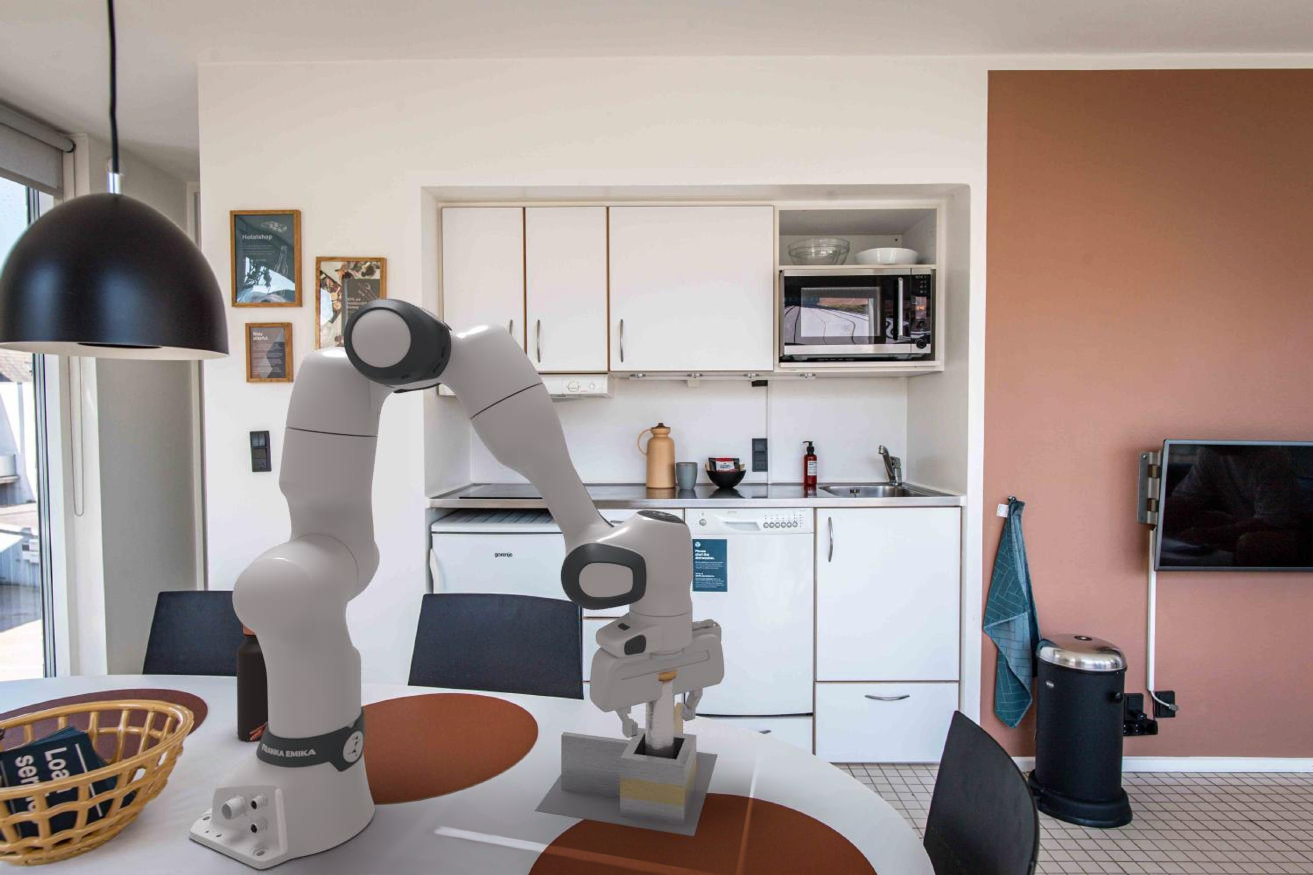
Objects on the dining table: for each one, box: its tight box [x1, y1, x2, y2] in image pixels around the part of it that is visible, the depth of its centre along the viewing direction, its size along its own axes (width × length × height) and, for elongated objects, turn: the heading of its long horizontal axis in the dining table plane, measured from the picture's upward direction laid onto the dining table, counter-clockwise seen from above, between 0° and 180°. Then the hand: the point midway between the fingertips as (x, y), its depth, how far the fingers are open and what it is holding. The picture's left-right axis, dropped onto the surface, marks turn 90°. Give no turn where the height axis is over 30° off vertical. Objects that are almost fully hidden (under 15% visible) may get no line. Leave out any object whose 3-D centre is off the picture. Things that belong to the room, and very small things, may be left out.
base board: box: [534, 751, 718, 837], centre depth 96 cm, size 22×21×1 cm
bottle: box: [236, 623, 268, 742], centre depth 112 cm, size 7×7×20 cm
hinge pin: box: [644, 670, 676, 759], centre depth 90 cm, size 5×5×19 cm
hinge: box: [560, 701, 697, 826], centre depth 96 cm, size 19×19×8 cm
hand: (659, 726), depth 90 cm, fingers open, 8 cm apart
